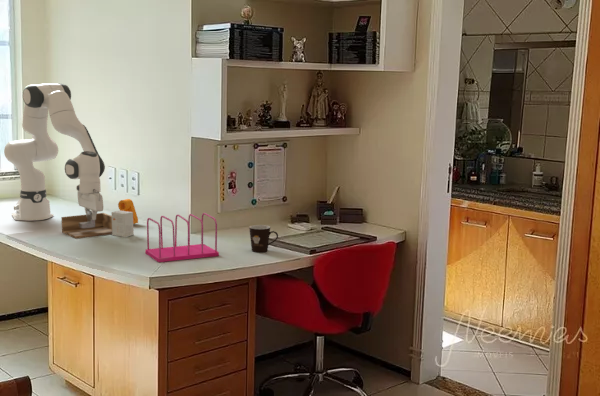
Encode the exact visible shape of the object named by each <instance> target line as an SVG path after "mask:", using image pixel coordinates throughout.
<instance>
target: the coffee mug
mask: <svg viewBox="0 0 600 396" xmlns="http://www.w3.org/2000/svg"><path fill="white" fill-rule="evenodd" d="M248 229H249V237H250V245H251V252H253V253H257V254H258V253H259V254H260V253H267V252H268V249H269V245H272V244H273V243H276V241H277V240H278V238H279V234H278V232H276V231H275V230H272V231H271V226H270V225H265V224H264V225H262V224H256V225H254V224H253V225H249V228H248ZM273 233H274V234H275V235H276V238H275V239H274V240H272V241H270V235H271V234H273Z"/></svg>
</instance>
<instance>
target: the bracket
mask: <svg viewBox="0 0 600 396" xmlns="http://www.w3.org/2000/svg"><path fill="white" fill-rule="evenodd" d="M91 216H92V210H90V211H87V222H81V223H79V227H80V228H82V229H83V228H92V227H95V220H92V219H91Z"/></svg>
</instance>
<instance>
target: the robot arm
mask: <svg viewBox="0 0 600 396" xmlns="http://www.w3.org/2000/svg"><path fill="white" fill-rule="evenodd" d="M22 91H23V92H22V99H23V102H24V104H23V105H24V106H23V111H22V123H21V126H22V129H23V131H24V132H25V133H27V134H29V135H31V136H32V138H31V139H19V140H18V139H16V140H11V141H8V142H7V143H6V144H5V147H4V149H3V152H4V153H3V154H4V157H5V158H6V160H7V161H8V162H10V163H12V164H13V166H15V168H16V169H17V171H18V174H19V177H20V188H21V189H20V191H19V192H20V193H19V200H18V201H17V203H16V205H13V210H14V211H16V212H13V213H11V216H12V218H13V219H14V221H27V222H28V221H29V222H30V221H43V220H47V219H50V218H52V217H54V214H53V213H51V206H50V205H51V204H50V200H49V199H48V198H47V194H48V193H47V190H46V179H45V178H46V177H45V174H44V172H43V171H41V170H40V169H38V168H35V167H34V163H36V162H48V161H50V160H51V161H52V160H55V159H56V158H57V156H58V154H59V147H58V144H57V142H56V141H55V140H53V139H52V138H51V137H50V136H49V135H50V134H49V132H48V118H50V122H51V124H52V126H53V128H54V130H56V131H57V132H58V133H60V134H62V135H65V136H69V137H71V138H74V139H75V140H76V141H78V142H79V144H80V146H81V148H82V150H83V151H81V152H79V155H77V156H75V157H72V158H69V159H68V160H67V161H66V162H65V165H64V173H65V175H66V177H68V179H70V180H79V184H78V185H76V187H75V188H76V191H77V202H78V203H77V204H78V206H79V207H82V208H84V212H85V215H86V217H87V211H90V210H91V211H92V216H91V219H92V220H96V215H97V213H99V212H103V211H104V198H103V195H102V194H101V192H102V191H101V176H102V175H103V174H104V173H105V169H106V165H105V162H104V161H103V160H104V159H102V157H101V155H100V154H99V152H98V150H97V148H96V144H95V143H94V141H93V139H92V136H91V134H90V132H89V130H88V128H87V127H86V126H85V125H84V123H82V122H81V121H80V120H79V118H78V116H77V114H76V111H75V108H74V105H73V103H72V100H71V99H72V92H71V89H70V88H69V85H67V84H64V83H52V82H51V83H47V82H46V83H39V84H29V85H27V86H26V85H25V87H24V89H23V90H22ZM48 116H49V117H48Z"/></svg>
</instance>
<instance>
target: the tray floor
mask: <svg viewBox="0 0 600 396" xmlns="http://www.w3.org/2000/svg"><path fill="white" fill-rule="evenodd" d="M61 232H62V233H63V234H65V235H66V236H69V237H71V238H73V239H76V240H77V239H83V238H91V237H93V238H94V237H99V236H107V235H112V230H111V229H109V228H106V227H104V226H99V227H92V228H83V229H82V228H81V229H72V230H64V231H63V230H62V229H61Z"/></svg>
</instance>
